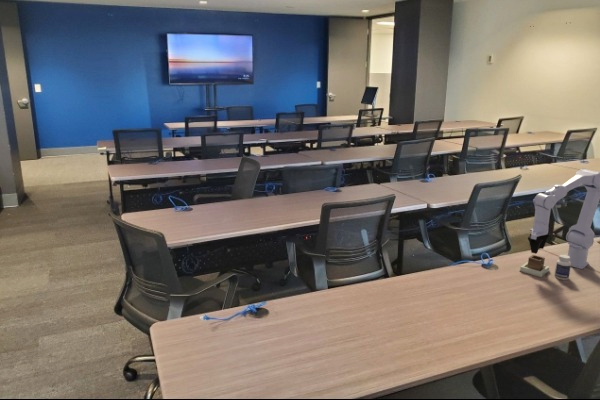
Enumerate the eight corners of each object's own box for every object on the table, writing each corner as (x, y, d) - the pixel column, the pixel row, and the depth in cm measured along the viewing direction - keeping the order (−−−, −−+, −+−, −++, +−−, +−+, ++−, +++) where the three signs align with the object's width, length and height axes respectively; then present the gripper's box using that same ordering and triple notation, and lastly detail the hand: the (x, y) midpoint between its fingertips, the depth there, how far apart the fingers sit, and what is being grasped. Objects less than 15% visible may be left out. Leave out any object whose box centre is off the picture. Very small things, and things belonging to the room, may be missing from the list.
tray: (527, 265, 208) (528, 260, 207) (548, 271, 202) (549, 266, 201) (519, 271, 202) (520, 266, 201) (541, 277, 196) (542, 272, 195)
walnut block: (531, 267, 205) (532, 254, 203) (543, 270, 201) (544, 257, 200) (527, 270, 201) (528, 257, 200) (538, 273, 198) (540, 261, 196)
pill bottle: (570, 280, 192) (574, 259, 190) (556, 279, 193) (560, 258, 191) (566, 275, 197) (569, 254, 195) (552, 274, 199) (555, 253, 196)
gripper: (537, 215, 203) (533, 243, 207) (525, 222, 193) (521, 252, 197) (554, 218, 198) (550, 247, 202) (542, 226, 188) (538, 257, 192)
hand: (537, 250), depth 199 cm, fingers open, 7 cm apart
